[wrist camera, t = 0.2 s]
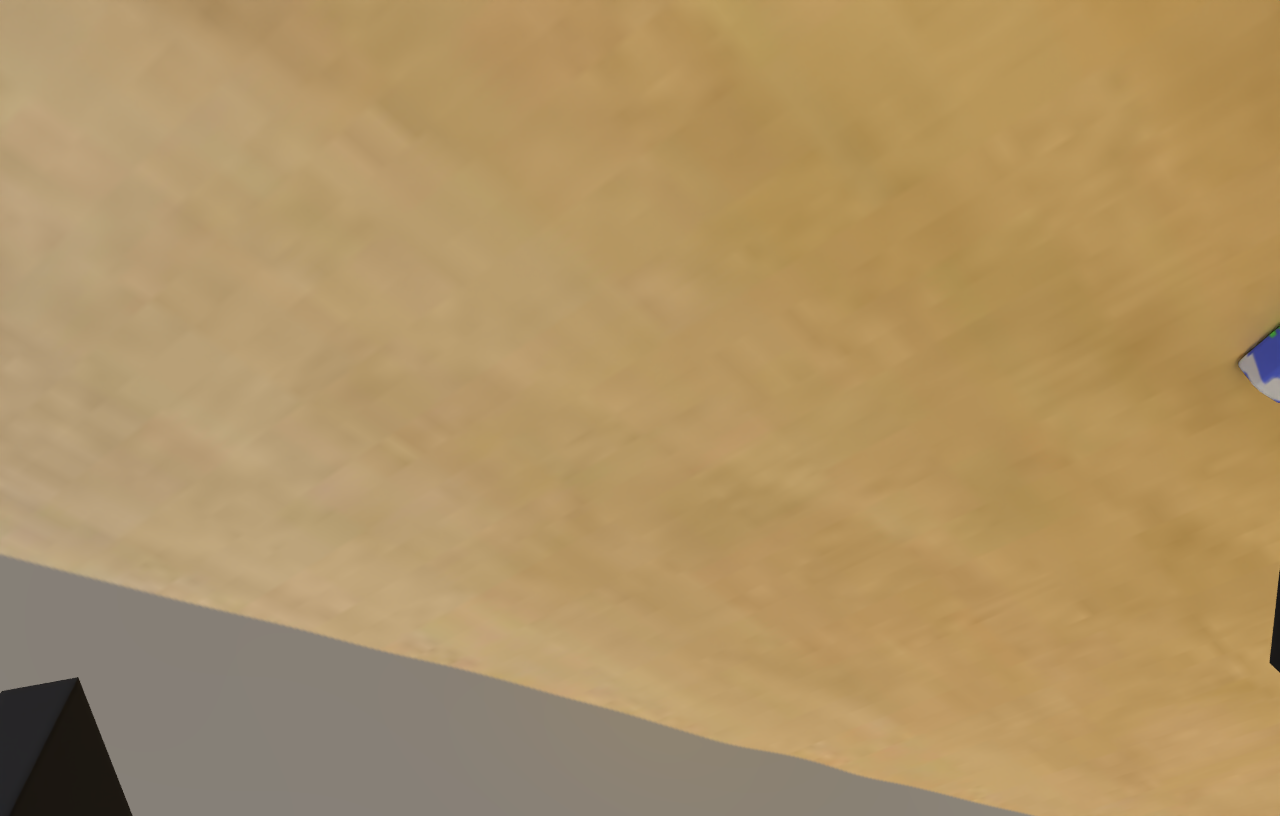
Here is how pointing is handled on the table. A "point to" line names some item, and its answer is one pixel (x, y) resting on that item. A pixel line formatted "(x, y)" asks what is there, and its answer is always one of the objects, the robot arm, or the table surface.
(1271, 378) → the blue usb connector
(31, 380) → the table surface
